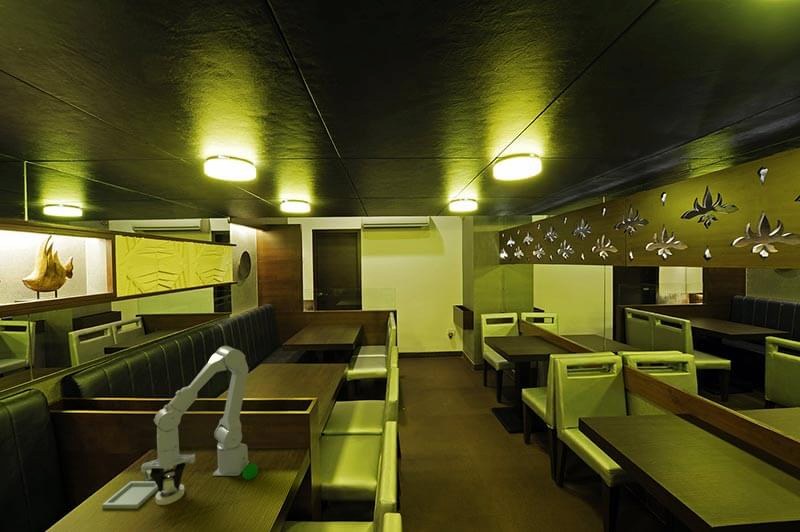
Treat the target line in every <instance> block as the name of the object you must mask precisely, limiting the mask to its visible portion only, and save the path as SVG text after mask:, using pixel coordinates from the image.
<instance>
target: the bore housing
mask: <svg viewBox="0 0 800 532" xmlns="http://www.w3.org/2000/svg"><path fill="white" fill-rule="evenodd" d="M184 495H185V485H184V484H183V483H180V486H179V488H178V492H177V493H176V494H174V495H172V496H169V497H163V490H162V492H159V491H157V493H155V503H156V505H159V506H166V505H170V504H172V503H174V502H176V501H178V500H180V499H181V498H182V497H183V496H184Z"/></svg>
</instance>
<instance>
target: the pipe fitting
mask: <svg viewBox="0 0 800 532" xmlns="http://www.w3.org/2000/svg"><path fill="white" fill-rule="evenodd" d="M174 466H175V465H174ZM174 466H171V467H168V468H164V473H165V472H170V471H171V470H173V469H174ZM141 473H143V477H144V480H145V481H151V480H153V479H152V478H151V477H150V473H151V470H147V471H145V472H141Z"/></svg>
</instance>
